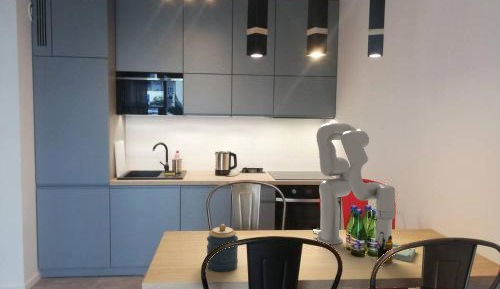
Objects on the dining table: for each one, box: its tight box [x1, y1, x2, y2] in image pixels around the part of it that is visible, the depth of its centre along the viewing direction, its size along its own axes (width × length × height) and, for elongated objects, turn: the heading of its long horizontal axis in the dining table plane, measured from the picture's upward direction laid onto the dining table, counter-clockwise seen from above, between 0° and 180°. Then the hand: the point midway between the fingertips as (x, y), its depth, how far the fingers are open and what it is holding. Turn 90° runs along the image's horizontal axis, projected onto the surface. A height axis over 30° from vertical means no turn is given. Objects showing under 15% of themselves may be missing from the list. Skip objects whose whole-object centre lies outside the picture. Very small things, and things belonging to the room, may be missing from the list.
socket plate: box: [392, 242, 416, 262], centre depth 162 cm, size 14×14×3 cm
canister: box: [206, 223, 239, 273], centre depth 145 cm, size 13×13×18 cm
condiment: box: [370, 234, 398, 267], centre depth 152 cm, size 7×8×12 cm
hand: (383, 254), depth 151 cm, fingers closed on condiment, 6 cm apart
